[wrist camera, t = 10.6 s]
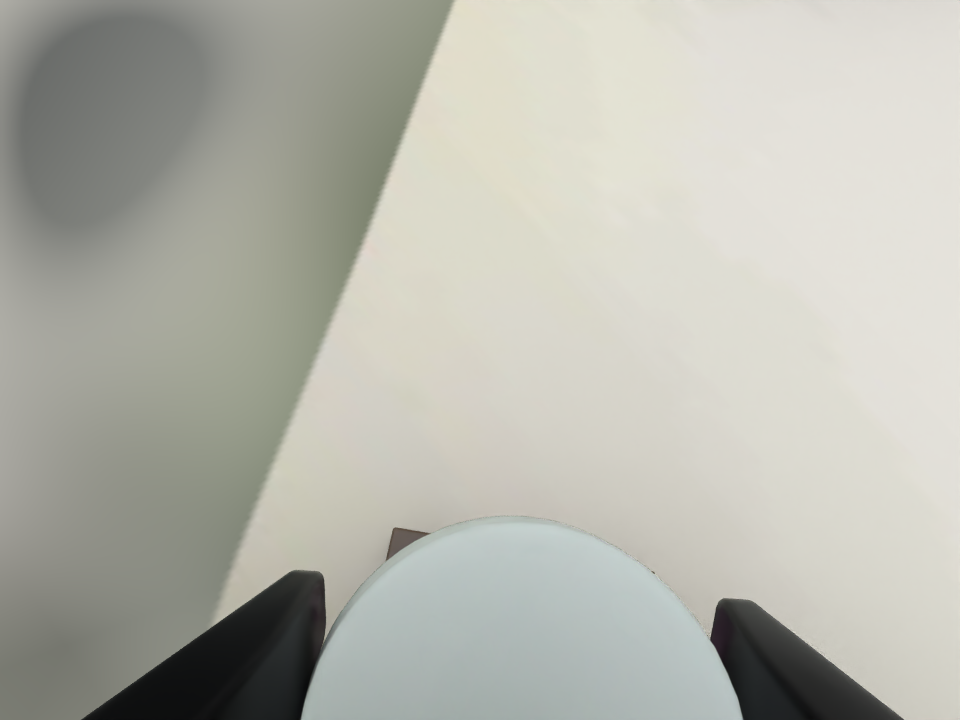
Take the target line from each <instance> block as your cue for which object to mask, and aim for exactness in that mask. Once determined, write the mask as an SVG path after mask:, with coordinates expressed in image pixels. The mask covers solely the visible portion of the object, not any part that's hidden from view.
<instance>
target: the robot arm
mask: <svg viewBox="0 0 960 720" xmlns="http://www.w3.org/2000/svg"><path fill="white" fill-rule="evenodd" d="M325 628H326V610H325V586H324V578H323V575H322V574H321V573H320V572H318V571H305V570H293V571H291V572H289V573H288V574H286V575H285V576H283V577H282V578H281V579H279V580H278V581H276V582H275V583H274V584H272V585H271V586H269V587H268V588H266V589H265V590H264V591H262V592H261V593H259V594H258V595H257V596H255V597H254V598H252V599H251V600H250V601H248V602H247V603H245V604H244V605H242V606H241V607H240V608H238V609H237V610H235V611H234V612H233V613H231V614H230V615H228V616H227V617H226V618H224V619H223V620H221V621H220V622H218V623H217V624H216V625H214V626H213V627H211V628H210V629H209V630H207V631H206V632H204V633H203V634H202V635H200V636H199V637H197V638H196V639H194V640H193V641H192V642H190V643H189V644H187V645H186V646H185V647H183V648H182V649H180V650H179V651H178V652H176V653H175V654H173V655H172V656H171V657H169V658H168V659H166V660H165V661H163V662H162V663H161V664H159V665H158V666H156V667H155V668H154V669H152V670H151V671H149V672H148V673H146V674H145V675H144V676H142V677H141V678H139V679H138V680H137V681H135V682H134V683H132V684H131V685H130V686H128V687H127V688H125V689H124V690H122V691H121V692H120V693H118V694H117V695H115V696H114V697H113V698H111V699H110V700H108V701H107V702H106V703H104V704H103V705H101V706H100V707H99V708H97V709H96V710H94V711H93V712H91V713H90V714H89V715H87V716H86V717H84V718H83V719H82V720H301V716H302V711H303V707H304V702H305V698H306V693H307V689H308V685H309V682H310V678H311V675H312V672H313V669H314V667H315V664H316V661H317V658H318V656H319V653H320V651H321V648H322V644H323V640H324V635H325ZM710 641H711V642H712V644H713V645H714V647H715V649H716V651H717V653H718V655H719V657H720V659H721V661H722V664H723V666H724V668H725V670H726V672H727V674H728V676H729V679H730V681H731V684H732V686H733V688H734V691H735V693H736V695H737V697H738V701H739V705H740V709H741V713H742V717H743V720H904V719H903V718H901V717H900V716H899V715H897V714H896V713H895V712H894V711H892V710H891V709H890V708H889V707H887V706H886V705H885V704H883V703H882V702H881V701H880V700H878V699H877V698H876V697H874V696H873V695H872V694H871V693H869V692H868V691H867V690H866V689H864V688H863V687H862V686H860V685H859V684H858V683H857V682H855V681H854V680H853V679H851V678H850V677H849V676H848V675H846V674H845V673H844V672H843V671H841V670H840V669H839V668H837V667H836V666H835V665H834V664H832V663H831V662H830V661H828V660H827V659H826V658H825V657H823V656H822V655H821V654H819V653H818V652H817V651H816V650H814V649H813V648H812V647H811V646H809V645H808V644H807V643H805V642H804V641H803V640H802V639H800V638H799V637H798V636H796V635H795V634H794V633H793V632H791V631H790V630H789V629H788V628H786V627H785V626H784V625H782V624H781V623H780V622H779V621H777V620H776V619H775V618H773V617H772V616H771V615H770V614H768V613H767V612H766V611H765V610H763V609H762V608H761V607H759V606H758V605H757V604H755V603H754V602H752V601H750V600H743V599H728V598H724V599H722V600H720V601H719V603H718V605H717V607H716V612H715V617H714V622H713V628H712V633H711V638H710Z"/></svg>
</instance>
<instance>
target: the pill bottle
mask: <svg viewBox="0 0 960 720" xmlns="http://www.w3.org/2000/svg"><path fill="white" fill-rule="evenodd" d="M301 720H743V717H742V713H741V709H740V705H739V701H738V697H737V695H736V693H735V691H734V688H733V686H732V684H731V681H730V679H729V676H728V674H727V672H726V670H725V668H724V666H723V664H722V661H721V659H720V657H719V655H718V653H717V651H716V649H715V647H714V645H713V644H712V642H711V641H710V639H709V638H708V636H707V635H706V633H705V631H704V630H703V628H702V626H701V625H700V623H699V622H698V621H697V619H696V618H695V616H694V615H693V614H692V613H691V612H690V610H689V609H688V608H687V607H686V606H685V605H684V603H683V602H682V601H681V600H680V599H679V598H678V597H677V595H676V594H675V593H674V592H673V591H672V590H671V589H670V588H669V587H668V586H667V585H665V584H664V583H663V582H662V581H661V580H660V579H659V578H658V577H657V576H656V575H655V574H654V573H652V572H651V571H650V570H649V569H648V568H647V567H645V566H644V565H642V564H641V563H640V562H638V561H637V560H636V559H634V558H633V557H631V556H630V555H628V554H627V553H625V552H624V551H622V550H621V549H619V548H617V547H615V546H613V545H611V544H609V543H607V542H605V541H604V540H602V539H600V538H598V537H596V536H595V535H592V534H590V533H588V532H586V531H583V530H581V529H578V528H575V527H573V526H570V525H567V524H563V523H560V522H557V521H552V520H547V519H541V518H535V517H526V516H494V517H485V518H479V519H474V520H470V521H465V522H461V523H457V524H454V525H451V526H448V527H445V528H442V529H440V530H438V531H436V532H433V533H431V534H429V535H426V536H424V537H422V538H420V539H418V540H416V541H414V542H413V543H411V544H410V545H408V546H406V547H405V548H403V549H402V550H400V551H399V552H398V553H396V554H395V555H394V556H392V557H391V558H390V559H388V560H387V561H386V562H385V563H384V564H382V565H381V566H380V567H379V568H378V569H377V570H376V571H375V572H374V573H373V574H372V575H371V576H370V577H369V578H368V579H367V580H366V581H365V582H364V583H363V584H362V585H361V586H360V587H359V589H358V590H357V591H356V592H355V593H354V595H353V596H352V598H351V599H350V600H349V602H348V603H347V604H346V606H345V607H344V609H343V610H342V611H341V613H340V614H339V616H338V618H337V619H336V621H335V623H334V624H333V626H332V628H331V630H330V632H329V634H328V636H327V638H326V640H325V642H324V644H323V646H322V649H321V651H320V653H319V656H318V658H317V661H316V664H315V667H314V669H313V672H312V675H311V678H310V682H309V685H308V689H307V693H306V698H305V702H304V707H303V711H302V716H301Z"/></svg>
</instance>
